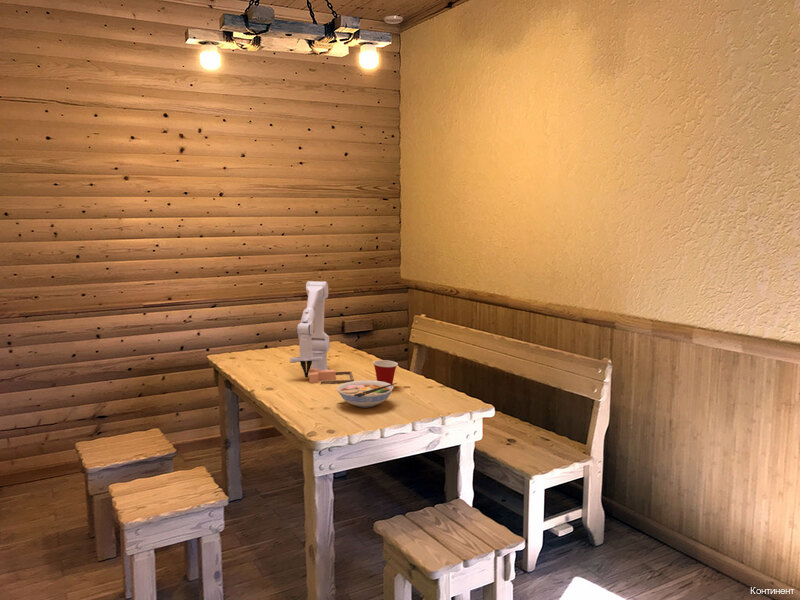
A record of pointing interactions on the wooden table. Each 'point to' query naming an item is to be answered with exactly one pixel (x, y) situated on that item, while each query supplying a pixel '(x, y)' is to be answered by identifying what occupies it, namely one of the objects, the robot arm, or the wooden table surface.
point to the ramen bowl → (365, 392)
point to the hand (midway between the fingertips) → (306, 377)
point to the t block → (321, 375)
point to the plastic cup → (385, 370)
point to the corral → (340, 380)
